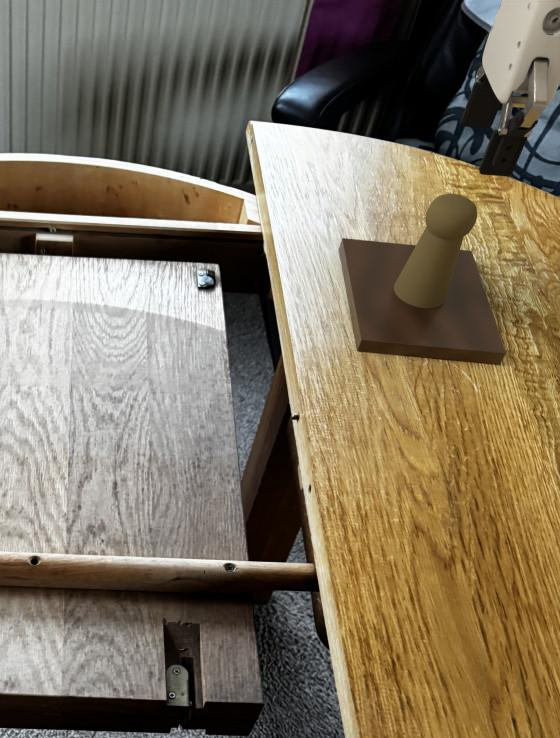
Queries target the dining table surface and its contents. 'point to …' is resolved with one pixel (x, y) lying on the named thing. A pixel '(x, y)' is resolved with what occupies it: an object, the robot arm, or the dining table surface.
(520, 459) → the dining table surface
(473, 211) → the tan pawn
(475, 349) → the walnut board
